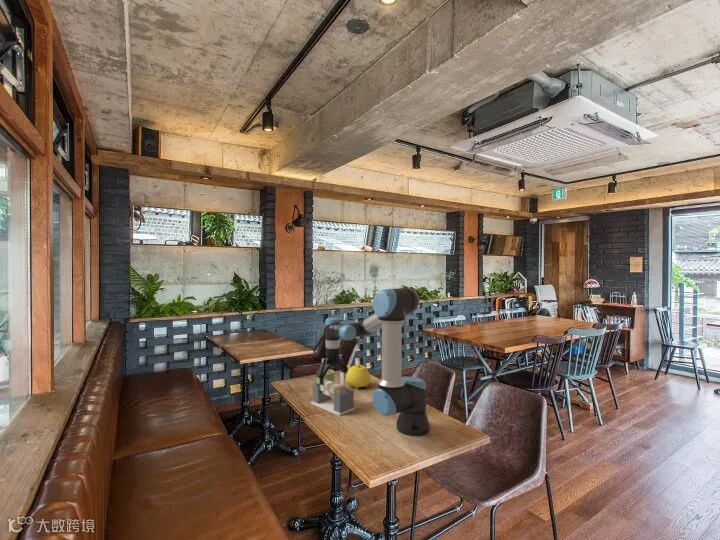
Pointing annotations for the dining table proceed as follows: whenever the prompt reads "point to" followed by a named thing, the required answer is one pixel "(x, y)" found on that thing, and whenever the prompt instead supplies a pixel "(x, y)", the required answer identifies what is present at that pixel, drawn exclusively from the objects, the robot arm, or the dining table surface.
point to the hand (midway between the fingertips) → (332, 387)
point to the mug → (328, 376)
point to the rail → (332, 388)
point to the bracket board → (334, 401)
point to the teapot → (358, 376)
